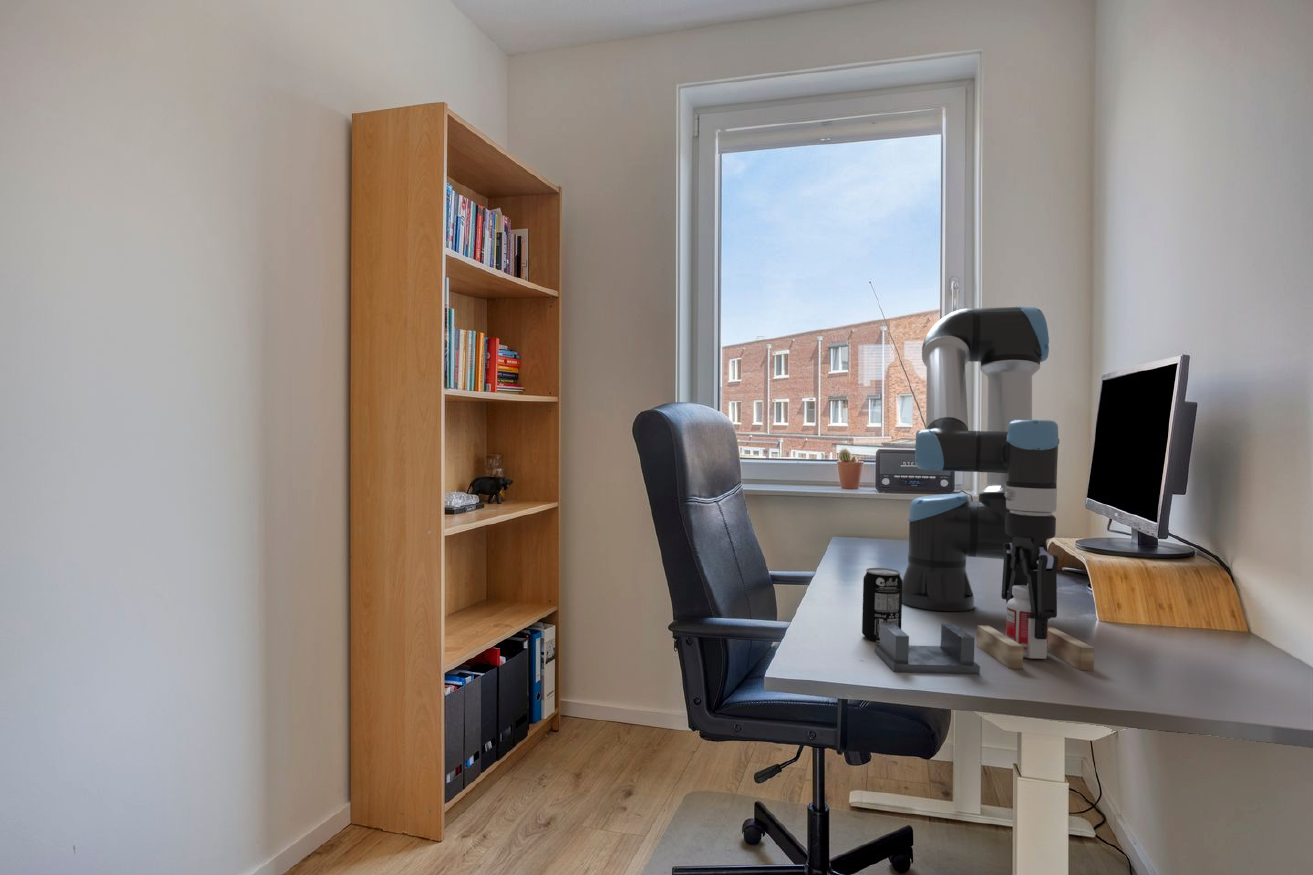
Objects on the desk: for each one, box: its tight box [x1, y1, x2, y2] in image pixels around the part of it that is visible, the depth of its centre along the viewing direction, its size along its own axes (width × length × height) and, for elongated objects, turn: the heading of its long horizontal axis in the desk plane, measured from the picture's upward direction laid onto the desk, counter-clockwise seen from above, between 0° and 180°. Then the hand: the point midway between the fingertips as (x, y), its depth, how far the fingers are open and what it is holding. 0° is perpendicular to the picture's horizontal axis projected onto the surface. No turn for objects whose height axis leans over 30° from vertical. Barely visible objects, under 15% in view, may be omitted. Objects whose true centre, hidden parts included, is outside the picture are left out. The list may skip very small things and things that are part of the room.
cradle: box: [874, 622, 981, 675], centre depth 117 cm, size 10×13×5 cm
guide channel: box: [976, 625, 1095, 671], centre depth 121 cm, size 12×13×4 cm
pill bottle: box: [1005, 585, 1049, 659], centre depth 123 cm, size 6×6×11 cm
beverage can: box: [861, 567, 903, 644], centre depth 130 cm, size 7×7×12 cm
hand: (1026, 650), depth 123 cm, fingers closed on pill bottle, 6 cm apart
